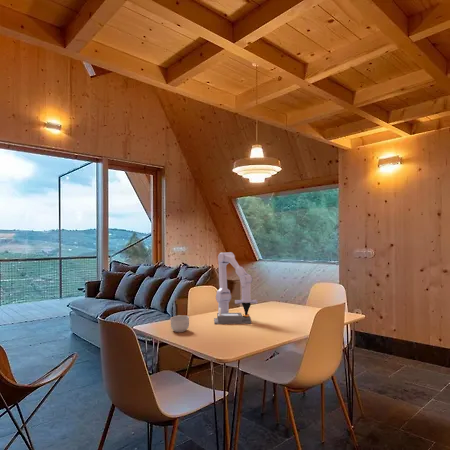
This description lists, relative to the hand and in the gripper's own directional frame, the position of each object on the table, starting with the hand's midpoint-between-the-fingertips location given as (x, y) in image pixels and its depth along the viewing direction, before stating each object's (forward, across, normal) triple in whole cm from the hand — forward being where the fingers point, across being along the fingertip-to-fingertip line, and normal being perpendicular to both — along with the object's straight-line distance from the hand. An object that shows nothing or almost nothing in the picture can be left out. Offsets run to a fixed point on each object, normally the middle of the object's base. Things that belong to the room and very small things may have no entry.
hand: (246, 314), depth 239 cm
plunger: (+3, 0, 0) cm, 3 cm away
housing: (+4, -9, 0) cm, 10 cm away
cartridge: (+3, -12, 0) cm, 12 cm away
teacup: (+5, -42, -20) cm, 46 cm away
